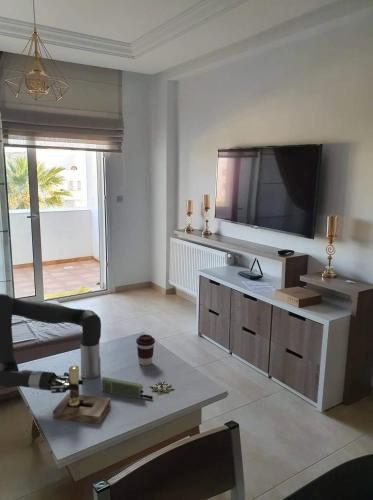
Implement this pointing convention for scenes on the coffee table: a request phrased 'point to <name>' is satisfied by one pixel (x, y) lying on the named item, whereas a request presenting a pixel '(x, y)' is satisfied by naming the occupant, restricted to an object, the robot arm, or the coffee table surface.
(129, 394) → the handheld radio
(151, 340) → the coffee cup
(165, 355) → the coffee table surface
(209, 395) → the coffee table surface
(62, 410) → the keyhole plate
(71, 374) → the brass peg
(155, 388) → the lily flower
